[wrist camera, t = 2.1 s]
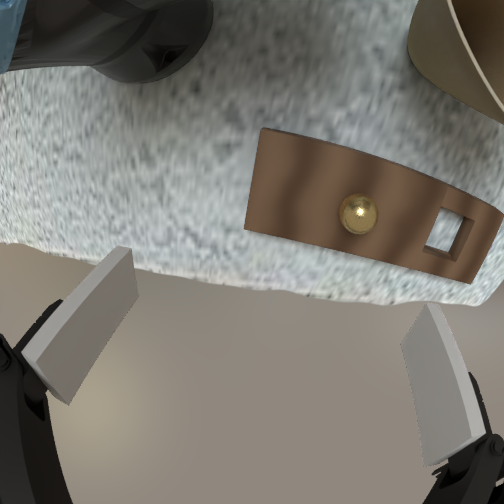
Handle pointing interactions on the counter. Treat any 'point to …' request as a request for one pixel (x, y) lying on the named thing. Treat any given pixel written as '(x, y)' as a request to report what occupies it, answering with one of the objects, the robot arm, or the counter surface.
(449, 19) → the plant pot
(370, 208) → the brass ball
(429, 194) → the board
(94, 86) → the counter surface
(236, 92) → the counter surface
